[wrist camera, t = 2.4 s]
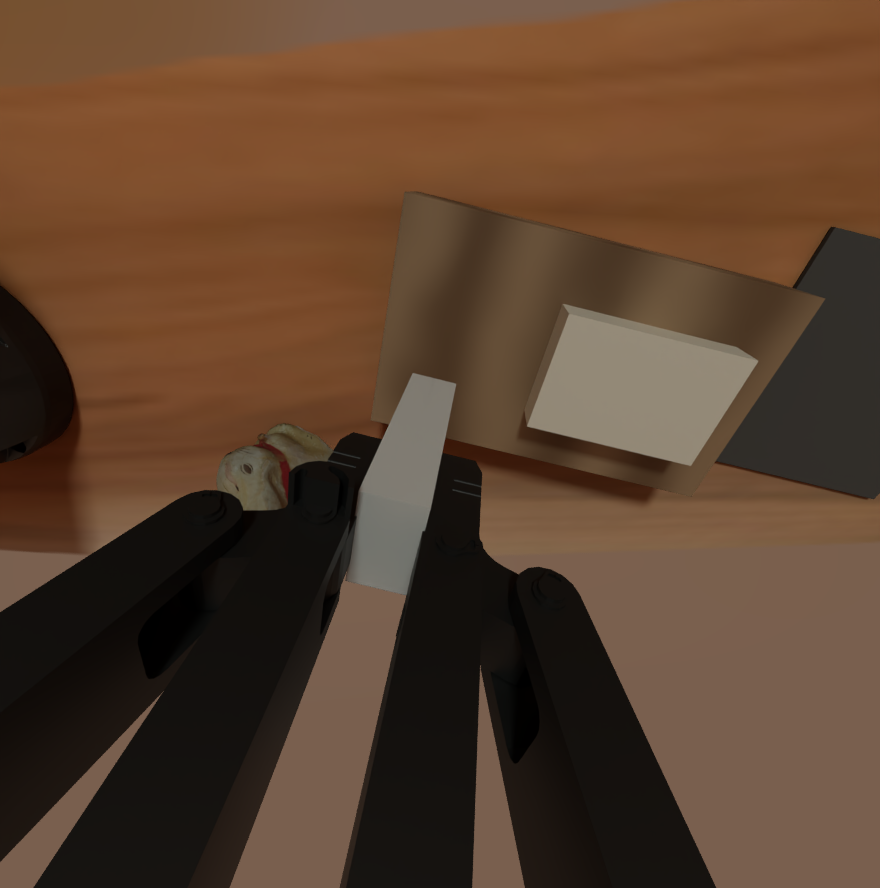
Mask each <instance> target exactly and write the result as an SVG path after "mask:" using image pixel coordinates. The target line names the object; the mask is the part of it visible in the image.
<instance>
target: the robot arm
mask: <svg viewBox="0 0 880 888" xmlns="http://www.w3.org/2000/svg"><path fill="white" fill-rule="evenodd" d="M455 388H456V384H455V383H451V382H447V381H443V380H439V379H435V378H431V377H427V376H423V375H419V374H415V373H413V374H412V376H411V378H410V380H409V382H408V385H407V387H406V389H405V391H404V393H403V395H402V398H401V400H400V402H399V404H398V406H397V408H396V411H395V413H394V415H393V417H392V419H391V422H390V424H389V426H388V428H387V430H386V432H385V435H384V437H383V439H378V438H374V437H370V436H366V435H362V434H358V433H354V432H353V433H351V434H349V435H348V436H346V437H344V438H342V439H341V440H340V441H339V442H338V444H337V446H336V447H335V449H334V450H333V453H332V454H331V455H330V457H329V458H328V461H312V462H306V463H303V464H300V465H298V466H296V467H295V468H293V469H292V470H291V471H290V472H289V479H288V504H287V506H286V507H285V508H281V509H277V510H243V506H242V504H241V502H240V500H239V499H238V498H236V497H235V496H233V495H232V494H230V493H226V492H223V491H219V490H204V491H199V492H194V493H190V494H188V495H186V496H183V497H181V498H179V499H177V500H176V501H174V502H172V503H171V504H169V505H168V506H166V507H165V508H163V509H161V510H160V511H158V512H157V513H155V514H154V515H152V516H150V517H149V518H147V519H146V520H144V521H143V522H141V523H139V524H138V525H136V526H135V527H133V528H132V529H130V530H128V531H127V532H125V533H124V534H122V535H121V536H119V537H118V538H116V539H114V540H113V541H111V542H110V543H108V544H107V545H105V546H103V547H102V548H100V549H99V550H97V551H96V552H94V553H92V554H91V555H89V556H88V557H86V558H85V559H83V560H81V561H80V562H78V563H77V564H75V565H74V566H72V567H71V568H69V569H67V570H66V571H65V572H63V573H61V574H60V575H58V576H56V577H55V578H53V579H52V580H50V581H48V582H47V583H46V584H44V585H42V586H41V587H39V588H38V589H36V590H34V591H33V592H32V593H30V594H28V595H27V596H25V597H23V598H22V599H20V600H19V601H17V602H16V603H14V604H12V605H11V606H9V607H8V608H6V609H5V610H3V611H2V612H0V861H2V859H3V858H4V857H5V856H6V855H7V854H8V853H9V852H10V851H11V850H12V849H13V848H14V847H15V846H16V844H18V843H19V842H20V841H21V840H22V839H23V838H24V836H25V835H26V834H27V833H28V832H29V831H30V830H31V829H32V828H33V827H34V826H35V825H36V824H37V823H38V822H39V821H40V820H41V819H42V818H43V816H45V814H46V813H47V812H48V811H49V810H50V809H51V808H52V807H53V806H54V805H55V804H56V803H57V802H58V801H59V800H60V799H61V798H62V797H63V796H64V795H65V794H66V792H68V790H69V789H70V788H71V787H72V786H73V785H74V784H75V783H76V782H77V781H78V780H79V779H80V778H81V777H82V776H83V775H84V774H85V773H86V772H87V771H88V769H89V768H90V767H91V766H92V765H93V764H94V763H95V762H96V761H97V760H98V759H99V758H100V757H101V756H102V755H103V754H104V753H105V752H106V751H107V750H108V749H109V748H110V747H111V745H112V744H113V743H114V742H115V741H116V740H117V739H118V738H119V737H120V736H121V735H122V734H123V733H124V732H125V731H126V730H127V729H128V728H129V727H130V725H132V724H133V722H134V721H135V720H136V719H137V718H138V717H139V716H140V715H141V714H142V713H143V712H144V711H145V710H146V709H147V708H148V707H149V706H150V705H151V704H152V702H154V701H155V699H156V698H157V697H158V696H159V695H160V694H161V693H162V692H163V691H164V692H163V693H162V695H161V696H160V698H159V699H158V701H157V702H156V704H155V705H154V707H153V708H152V710H151V711H150V713H149V714H148V716H147V718H146V719H145V720H144V722H143V723H142V725H141V726H140V728H139V729H138V731H137V733H136V734H135V735H134V737H133V738H132V740H131V741H130V743H129V744H128V746H127V747H126V749H125V750H124V752H123V753H122V755H121V756H120V758H119V759H118V761H117V763H116V764H115V765H114V767H113V769H112V770H111V771H110V773H109V774H108V776H107V778H106V779H105V781H104V782H103V784H102V785H101V787H100V788H99V790H98V791H97V793H96V794H95V796H94V797H93V799H92V800H91V802H90V803H89V805H88V806H87V808H86V809H85V811H84V812H83V814H82V815H81V817H80V818H79V820H78V821H77V823H76V824H75V826H74V827H73V829H72V830H71V832H70V833H69V835H68V836H67V838H66V839H65V841H64V842H63V844H62V845H61V847H60V848H59V850H58V852H57V853H56V854H55V856H54V857H53V859H52V860H51V862H50V863H49V865H48V867H47V868H46V870H45V871H44V873H43V874H42V876H41V877H40V879H39V880H38V882H37V883H36V885H35V886H34V888H229V887H230V885H231V882H232V880H233V877H234V874H235V871H236V869H237V866H238V864H239V861H240V859H241V856H242V853H243V851H244V848H245V845H246V843H247V840H248V838H249V835H250V832H251V830H252V827H253V824H254V822H255V819H256V817H257V814H258V811H259V809H260V805H261V803H262V801H263V798H264V795H265V793H266V790H267V787H268V785H269V782H270V780H271V777H272V775H273V772H274V769H275V767H276V764H277V761H278V759H279V756H280V753H281V751H282V748H283V746H284V743H285V740H286V738H287V735H288V732H289V730H290V727H291V724H292V722H293V719H294V717H295V714H296V711H297V709H298V706H299V704H300V701H301V698H302V696H303V693H304V691H305V688H306V685H307V683H308V680H309V677H310V675H311V672H312V669H313V667H314V664H315V662H316V659H317V656H318V654H319V651H320V649H321V646H322V643H323V641H324V638H325V635H326V633H327V630H328V627H329V625H330V622H331V620H332V617H333V614H334V612H335V609H336V607H337V604H338V601H339V595H340V587H341V584H342V582H343V579H344V576H345V574H346V572H347V574H346V581H349V582H353V583H357V584H361V585H365V586H370V587H374V588H378V589H382V590H386V591H390V592H394V593H399V594H403V595H406V600H405V604H404V608H403V611H402V615H401V619H400V622H399V626H398V630H397V634H396V636H397V637H396V641H395V646H394V650H393V655H392V659H391V663H390V668H389V673H388V677H387V681H386V685H385V690H384V694H383V699H382V703H381V708H380V712H379V716H378V721H377V725H376V730H375V734H374V739H373V743H372V747H371V752H370V756H369V761H368V765H367V769H366V774H365V778H364V783H363V787H362V791H361V796H360V800H359V805H358V809H357V813H356V818H355V822H354V827H353V831H352V836H351V840H350V845H349V849H348V853H347V858H346V862H345V867H344V871H343V875H342V880H341V884H340V888H472V875H473V846H474V819H475V792H476V763H477V736H478V735H477V734H478V707H479V706H478V705H479V680H480V665H481V672H482V677H483V682H484V687H485V692H486V697H487V702H488V707H489V712H490V717H491V722H492V727H493V731H494V737H495V742H496V746H497V751H498V756H499V761H500V766H501V771H502V776H503V781H504V786H505V791H506V796H507V801H508V805H509V811H510V816H511V820H512V825H513V831H514V836H515V840H516V845H517V851H518V855H519V860H520V865H521V870H522V875H523V880H524V885H525V888H716V886H715V884H714V882H713V880H712V878H711V876H710V874H709V871H708V869H707V867H706V865H705V863H704V861H703V858H702V856H701V854H700V852H699V850H698V848H697V846H696V843H695V841H694V839H693V837H692V835H691V833H690V831H689V828H688V826H687V824H686V822H685V820H684V818H683V816H682V813H681V811H680V809H679V807H678V805H677V803H676V801H675V798H674V796H673V794H672V792H671V790H670V788H669V786H668V783H667V781H666V779H665V777H664V775H663V773H662V770H661V768H660V766H659V764H658V762H657V760H656V758H655V756H654V753H653V751H652V749H651V747H650V745H649V743H648V740H647V738H646V736H645V734H644V732H643V730H642V727H641V725H640V723H639V721H638V719H637V717H636V715H635V713H634V710H633V708H632V706H631V704H630V702H629V700H628V697H627V695H626V693H625V691H624V689H623V687H622V684H621V683H620V680H619V678H618V676H617V674H616V672H615V669H614V667H613V665H612V663H611V661H610V659H609V657H608V654H607V652H606V650H605V648H604V646H603V644H602V642H601V639H600V637H599V635H598V633H597V631H596V629H595V627H594V625H593V622H592V620H591V618H590V616H589V614H588V612H587V609H586V607H585V605H584V603H583V601H582V599H581V596H580V595H579V593H578V592H577V590H576V589H575V587H574V586H573V584H572V583H570V582H569V581H568V580H567V579H566V578H565V577H563V576H562V575H561V574H558V573H557V572H555V571H552V570H551V569H546V568H541V567H534V568H528V569H526V570H524V571H523V572H521V573H520V574H517V573H515V572H513V571H511V570H509V569H507V568H505V567H503V566H502V565H500V564H498V563H497V562H495V561H494V560H493V559H492V558H491V557H490V556H489V555H488V554H487V553H486V551H485V550H484V549H483V544H482V542H481V540H480V537H479V527H480V507H481V485H482V472H481V470H480V469H479V467H478V465H477V463H476V461H473V460H469V459H465V458H461V457H457V456H453V455H449V454H444V453H442V451H443V447H444V442H445V437H446V432H447V427H448V422H449V417H450V412H451V408H452V403H453V398H454V393H455ZM72 410H73V395H72V389H71V384H70V380H69V377H68V374H67V371H66V369H65V366H64V364H63V362H62V360H61V358H60V356H59V354H58V352H57V350H56V349H55V347H54V345H53V344H52V342H51V341H50V339H49V338H48V336H47V335H46V333H45V332H44V331H43V329H42V328H41V327H40V325H39V324H38V323H37V322H36V320H35V319H34V318H33V317H32V316H31V315H30V314H29V312H28V311H27V310H26V309H25V308H24V307H23V306H22V305H21V304H20V303H19V302H18V301H17V300H16V299H15V298H14V297H12V296H11V295H10V294H9V293H8V292H7V291H6V290H4V289H3V288H2V287H1V286H0V463H4V462H8V461H12V460H16V459H19V458H22V457H24V456H27V455H29V454H31V453H33V452H35V451H36V450H38V449H40V448H42V447H43V446H45V445H47V444H49V443H50V442H52V441H54V440H55V439H57V438H58V437H59V436H60V435H61V434H62V433H63V432H64V431H65V429H66V428H67V426H68V424H69V422H70V419H71V416H72Z"/></svg>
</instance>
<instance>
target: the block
mask: <svg viewBox="0 0 880 888" xmlns="http://www.w3.org/2000/svg"><path fill="white" fill-rule="evenodd" d="M757 363H758V360H756V359H755V358H753V357H752V356H750V355H748V354H747V353H745V352H744V351H742V350H741V349H739V348H737V347H734V346H730V345H726V344H722V343H718V342H714V341H710V340H706V339H702V338H698V337H694V336H690V335H686V334H682V333H678V332H674V331H670V330H666V329H662V328H658V327H654V326H650V325H646V324H642V323H638V322H634V321H630V320H626V319H622V318H618V317H614V316H610V315H606V314H602V313H598V312H594V311H590V310H586V309H582V308H578V307H574V306H570V305H566V304H562V307H561V310H560V312H559V315H558V318H557V321H556V323H555V326H554V329H553V332H552V334H551V337H550V340H549V343H548V345H547V348H546V351H545V354H544V357H543V359H542V362H541V365H540V368H539V370H538V373H537V376H536V379H535V381H534V384H533V387H532V390H531V393H530V395H529V398H528V401H527V404H526V406H525V409H524V411H525V417H526V423H527V427H531V428H535V429H540V430H544V431H548V432H552V433H556V434H560V435H564V436H569V437H573V438H577V439H581V440H585V441H589V442H593V443H598V444H602V445H606V446H610V447H614V448H618V449H623V450H627V451H631V452H635V453H639V454H643V455H647V456H652V457H656V458H660V459H664V460H668V461H672V462H676V463H681V464H685V465H689V466H691V465H692V463H693V462H694V460H695V459H696V457H697V456H698V454H699V453H700V451H701V450H702V448H703V446H704V445H705V443H706V442H707V440H708V439H709V437H710V436H711V434H712V432H713V431H714V429H715V428H716V426H717V425H718V423H719V422H720V420H721V419H722V417H723V415H724V414H725V412H726V411H727V409H728V408H729V406H730V405H731V403H732V401H733V400H734V398H735V397H736V395H737V394H738V392H739V391H740V389H741V388H742V386H743V384H744V383H745V381H746V380H747V378H748V377H749V375H750V374H751V372H752V370H753V369H754V367H755V366H756V364H757Z"/></svg>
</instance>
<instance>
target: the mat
mask: <svg viewBox="0 0 880 888" xmlns="http://www.w3.org/2000/svg"><path fill="white" fill-rule="evenodd" d="M793 288H794V289H797V290H800V291H803V292H806V293H809V294H812V295H815V296H819V297H822V298H825V300H824V302H823V303H822V305H821V306H820V308H819V309H818V311H817V312H816V314H815V315H814V317H813V318H812V319H811V321H810V322H809V324H808V325H807V327H806V328H805V330H804V331H803V333H802V334H801V336H800V337H799V339H798V340H797V342H796V343H795V345H794V346H793V348H792V349H791V350H790V352H789V353H788V355H787V356H786V358H785V359H784V361H783V362H782V364H781V365H780V367H779V368H778V370H777V371H776V373H775V374H774V376H773V377H772V378H771V380H770V381H769V383H768V384H767V386H766V387H765V389H764V390H763V392H762V393H761V395H760V396H759V398H758V399H757V401H756V402H755V404H754V405H753V407H752V408H751V409H750V411H749V412H748V414H747V415H746V417H745V418H744V420H743V421H742V423H741V424H740V426H739V427H738V429H737V430H736V432H735V433H734V435H733V436H732V438H731V439H730V440H729V442H728V443H727V445H726V446H725V448H724V449H723V451H722V452H721V454H720V455H719V457H718V458H717V460H716V461H718V462H722V463H726V464H730V465H735V466H739V467H743V468H747V469H751V470H755V471H759V472H763V473H768V474H772V475H776V476H780V477H784V478H788V479H792V480H797V481H801V482H805V483H809V484H813V485H817V486H821V487H825V488H830V489H834V490H838V491H842V492H846V493H850V494H854V495H859V496H863V497H867V498H871V499H874V498H875V497H876V496H877V495H878V494H879V493H880V239H878V238H874V237H871V236H867V235H863V234H859V233H855V232H851V231H847V230H844V229H840V228H836V227H831V228H830V230H829V231H828V233H827V234H826V236H825V238H824V239H823V241H822V242H821V244H820V246H819V247H818V249H817V250H816V252H815V253H814V255H813V257H812V258H811V260H810V261H809V263H808V265H807V266H806V268H805V269H804V271H803V273H802V274H801V276H800V277H799V279H798V280H797V282H796V284H795V285H794V287H793Z"/></svg>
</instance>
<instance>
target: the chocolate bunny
mask: <svg viewBox="0 0 880 888" xmlns="http://www.w3.org/2000/svg"><path fill="white" fill-rule="evenodd" d="M332 453H333V450H332V449H330V448H329V447H328V445H326V444H325V443H324V442H323V441H322V440H321V439H320V438H319V437H318V436H316V435H314V434H312V433H310V432H307V431H305V430H303V429H302V428H300V427H298V426H294V425H291V424H278V425H276V426H275V427H274V428H271V429H270V431H269V432H268V433H267V435H266V434H260V435H259V436H258V441H257V442H256V443H255V445H254V446H244V447H241V448H238V449H236V450H235V451H232V452H230V453H228V454H227V455H226V456H225V457H224V458H223V459H222V460H221V463H220V466H219V469H218V474H217V488H218V490H219V491H223V492H226V493H230V494H232V495H233V496H235V497H236V498H238V499H239V500H240V502H241V504H242V506H243V510H277V509H281V508H285V507H286V506H287V504H288V479H289V472H290V471H291V470H292V469H293V468H295V467H296V466H298V465H300V464H303V463H306V462H312V461H328V458H329V457H330V455H331V454H332Z"/></svg>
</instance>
